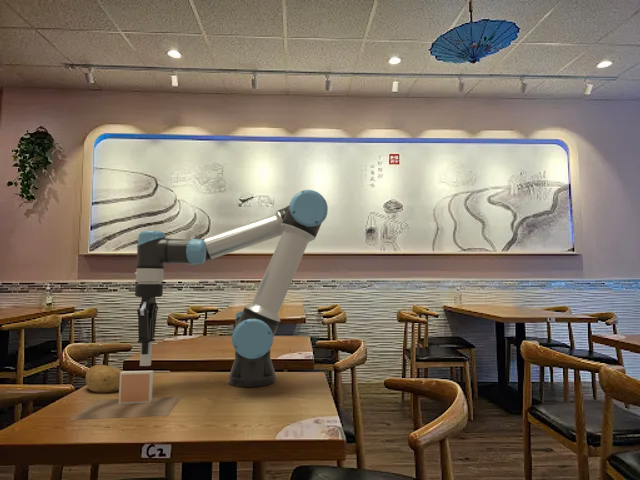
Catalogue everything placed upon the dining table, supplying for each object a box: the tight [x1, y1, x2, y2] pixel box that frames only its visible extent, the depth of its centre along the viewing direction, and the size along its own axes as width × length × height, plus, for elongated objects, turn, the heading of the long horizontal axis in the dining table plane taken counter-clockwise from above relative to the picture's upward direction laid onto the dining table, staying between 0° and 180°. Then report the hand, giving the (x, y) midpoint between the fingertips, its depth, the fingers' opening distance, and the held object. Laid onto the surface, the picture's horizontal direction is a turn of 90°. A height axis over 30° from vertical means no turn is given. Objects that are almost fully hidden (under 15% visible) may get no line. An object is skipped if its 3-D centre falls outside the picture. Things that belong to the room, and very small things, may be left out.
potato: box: [85, 364, 124, 394], centre depth 121 cm, size 10×14×8 cm
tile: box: [118, 370, 154, 404], centre depth 108 cm, size 8×2×8 cm, turn 98°
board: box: [69, 396, 182, 421], centre depth 104 cm, size 22×16×1 cm
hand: (145, 365), depth 117 cm, fingers closed
